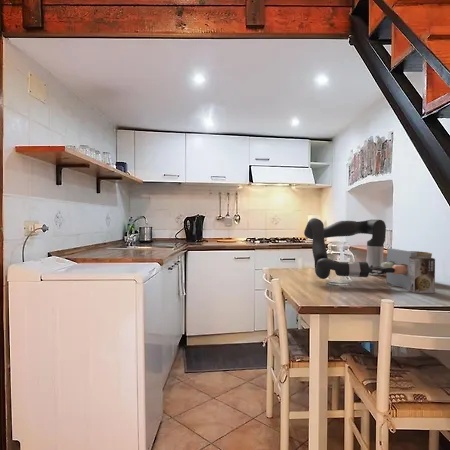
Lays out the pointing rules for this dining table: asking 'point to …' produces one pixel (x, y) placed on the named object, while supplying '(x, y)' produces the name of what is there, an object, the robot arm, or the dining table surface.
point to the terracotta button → (400, 269)
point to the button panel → (400, 259)
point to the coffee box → (422, 274)
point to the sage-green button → (387, 264)
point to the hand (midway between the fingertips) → (393, 270)
